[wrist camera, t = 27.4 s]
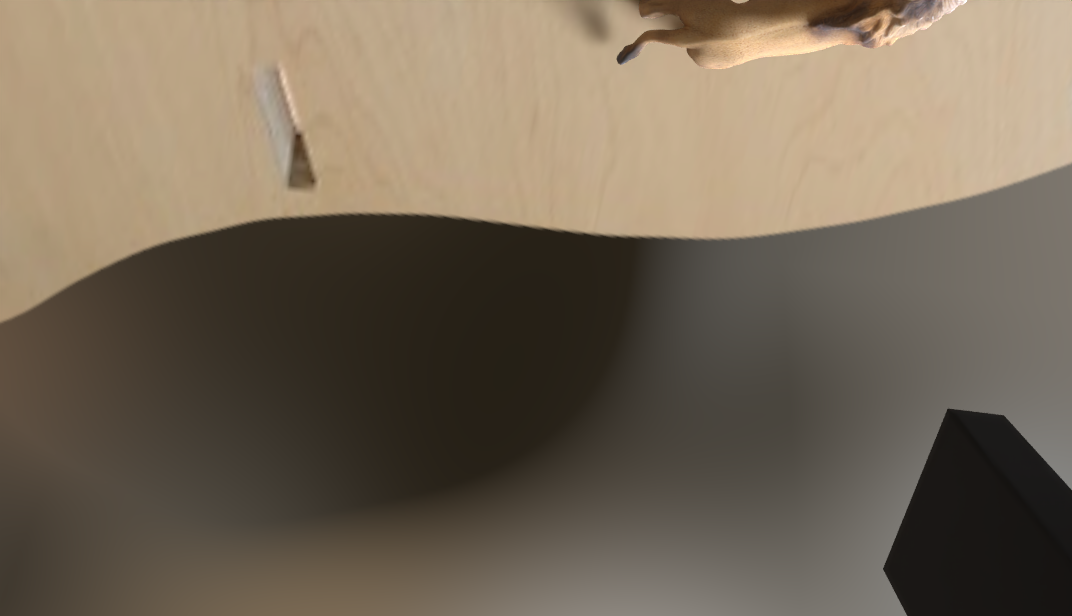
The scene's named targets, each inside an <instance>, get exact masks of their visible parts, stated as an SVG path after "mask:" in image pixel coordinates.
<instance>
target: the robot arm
mask: <svg viewBox="0 0 1072 616" xmlns="http://www.w3.org/2000/svg"><path fill="white" fill-rule="evenodd" d="M883 570H884V572H885V574H886V575H887V577H888V579H889V581H890V583H891V585H892V587H893V589H894V591H895V593H896V595H897V597H898V599H899V601H900V603H901V605H902V606H903V608H904V610H905V612H906V614H907V616H1072V490H1071V489H1070V488H1069V487H1068V486H1067V485H1066V483H1065V482H1064V481H1063V480H1062V479H1061V478H1060V477H1059V476H1058V475H1057V473H1056V472H1055V471H1054V470H1053V469H1052V468H1051V467H1050V466H1049V465H1048V464H1047V462H1046V461H1045V460H1044V459H1043V458H1042V457H1041V456H1040V455H1039V454H1038V453H1037V451H1036V450H1035V449H1034V448H1033V447H1032V446H1031V445H1030V444H1029V443H1028V442H1027V440H1025V438H1024V437H1023V436H1022V435H1021V434H1020V433H1019V432H1018V431H1017V430H1016V428H1015V427H1014V426H1013V425H1012V424H1011V423H1010V422H1009V421H1008V420H1007V419H1006V417H1005V416H1004V415H996V414H988V413H979V412H972V411H963V410H954V409H947V412H946V414H945V417H944V419H943V422H942V424H941V427H940V429H939V432H938V434H937V437H936V439H935V442H934V444H933V447H932V449H931V452H930V454H929V456H928V459H927V461H926V464H925V467H924V469H923V471H922V474H921V476H920V479H919V481H918V484H917V486H916V489H915V491H914V494H913V496H912V499H911V501H910V504H909V506H908V509H907V511H906V513H905V516H904V519H903V521H902V524H901V526H900V528H899V531H898V533H897V536H896V538H895V541H894V543H893V546H892V548H891V551H890V553H889V556H888V558H887V561H886V563H885V565H884V568H883Z"/></svg>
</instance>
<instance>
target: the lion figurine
mask: <svg viewBox="0 0 1072 616" xmlns="http://www.w3.org/2000/svg"><path fill="white" fill-rule="evenodd" d="M966 1H967V0H749V1H747V2H745V3H740V4H737V3H735V2H733V1H731V0H640V3H639V12H640V15H641V17H643V18H658V17H661V16H664V15H668V14H672V15H675V16H679V18H680V20H681V21H682V23H683V24H684V27H683V28H681V29H676V30H649V31H646V32H644V33H643V34H642V35H641V36H640V37H639V38H638V39H637V40H636V41H635V42H634V43H633V44H631V45H628V46H625V47H624V49H623V50H622V51H621V52H620V53H619V55H618V56H617V61H618V64H620V65H621V64H624V63H626V62H627V61H629V60H631V59H633V58H635V57H637V56H638V55H639V54H640V52H641V50H642V49H643V48H644V47H645V46H646V45H647V44H648V43H650V42H661V43H664V44H670V45H675V46H678V47H684V48H687V53H688V55H689V56H690V57H691V58H692V59H693V60H694V61H695V63H696V64H697V65H699V66H700V67H703V68H709V69H724V68H729V67H731V66H734V65H738V64H742V63H745V62H748V61H750V60H753V59H756V58H761V57H769V56H782V55H792V54H804V53H809V52H813V51H818V50H822V49H825V48H828V47H831V46H834V45H837V44H846V45H854V44H860V45H862V46H864V47H867V48H876V47H879V46H883V45H888V46H890V45H892V44H893V43H894V42H895V41H896V40H897V39H899V38H902V37H904V36H906V35H911V34H913V33H914V32H915V31H917V30H920V29H921V30H926V29H927V28H929V27H930V26H931V24H932V22H935V21H937V20H939V19H940V18H941V17H942V16H943V14H949V13H950V12H952V11H953V10H954V9H955V8H956V7H957V6H959V5H962V4H964V3H965V2H966Z"/></svg>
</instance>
